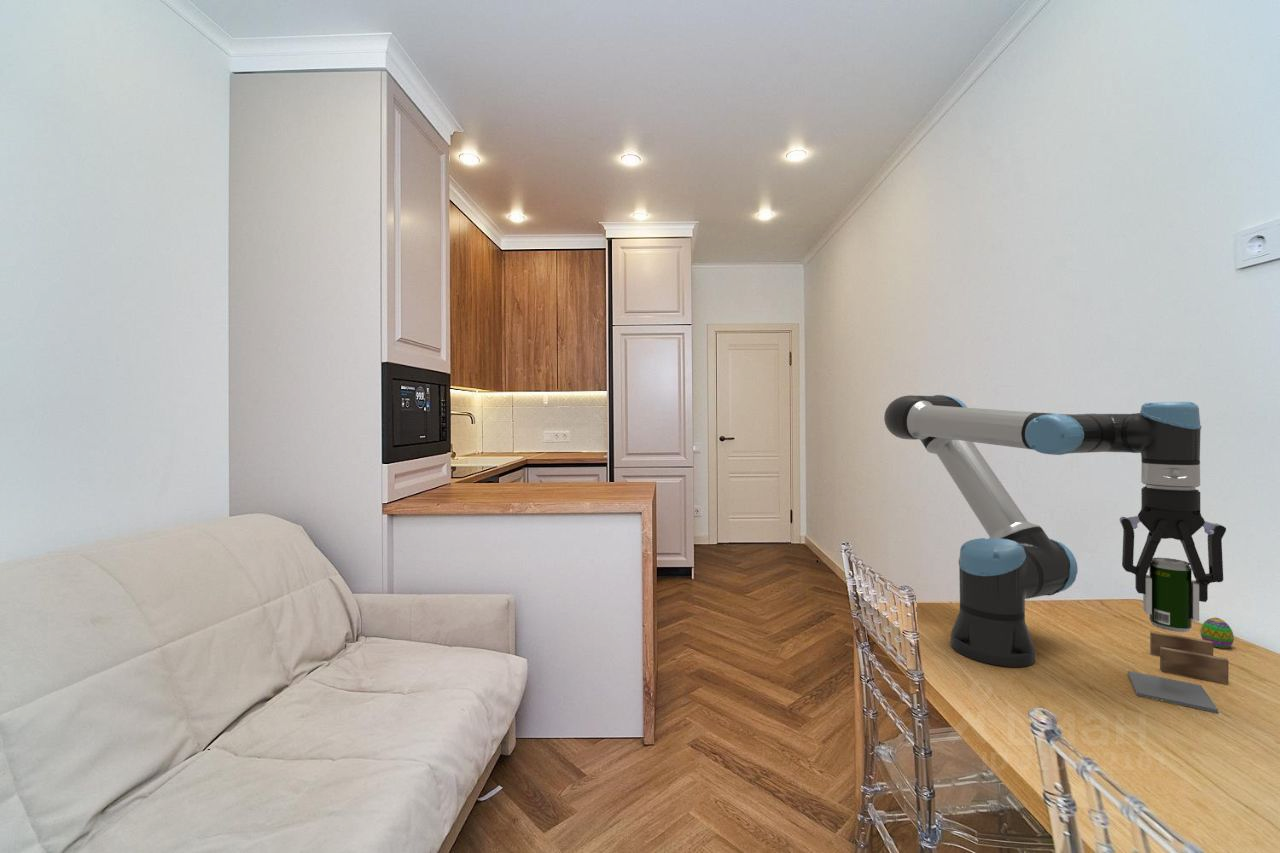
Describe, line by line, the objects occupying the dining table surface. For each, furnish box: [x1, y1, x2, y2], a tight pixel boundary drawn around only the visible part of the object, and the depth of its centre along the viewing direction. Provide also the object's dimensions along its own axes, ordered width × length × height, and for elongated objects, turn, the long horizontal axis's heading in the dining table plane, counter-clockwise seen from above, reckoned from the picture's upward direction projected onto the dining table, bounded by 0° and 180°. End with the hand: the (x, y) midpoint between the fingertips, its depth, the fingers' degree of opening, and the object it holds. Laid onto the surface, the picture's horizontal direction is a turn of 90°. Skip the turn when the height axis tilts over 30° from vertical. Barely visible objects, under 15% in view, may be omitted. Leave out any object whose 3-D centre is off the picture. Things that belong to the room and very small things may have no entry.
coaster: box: [1127, 670, 1219, 714], centre depth 95 cm, size 10×10×1 cm
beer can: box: [1148, 557, 1193, 633], centre depth 95 cm, size 5×5×12 cm
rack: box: [1149, 630, 1230, 685], centre depth 105 cm, size 9×10×4 cm
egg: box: [1200, 617, 1235, 649], centre depth 115 cm, size 5×5×6 cm
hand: (1170, 614), depth 95 cm, fingers closed on beer can, 5 cm apart
